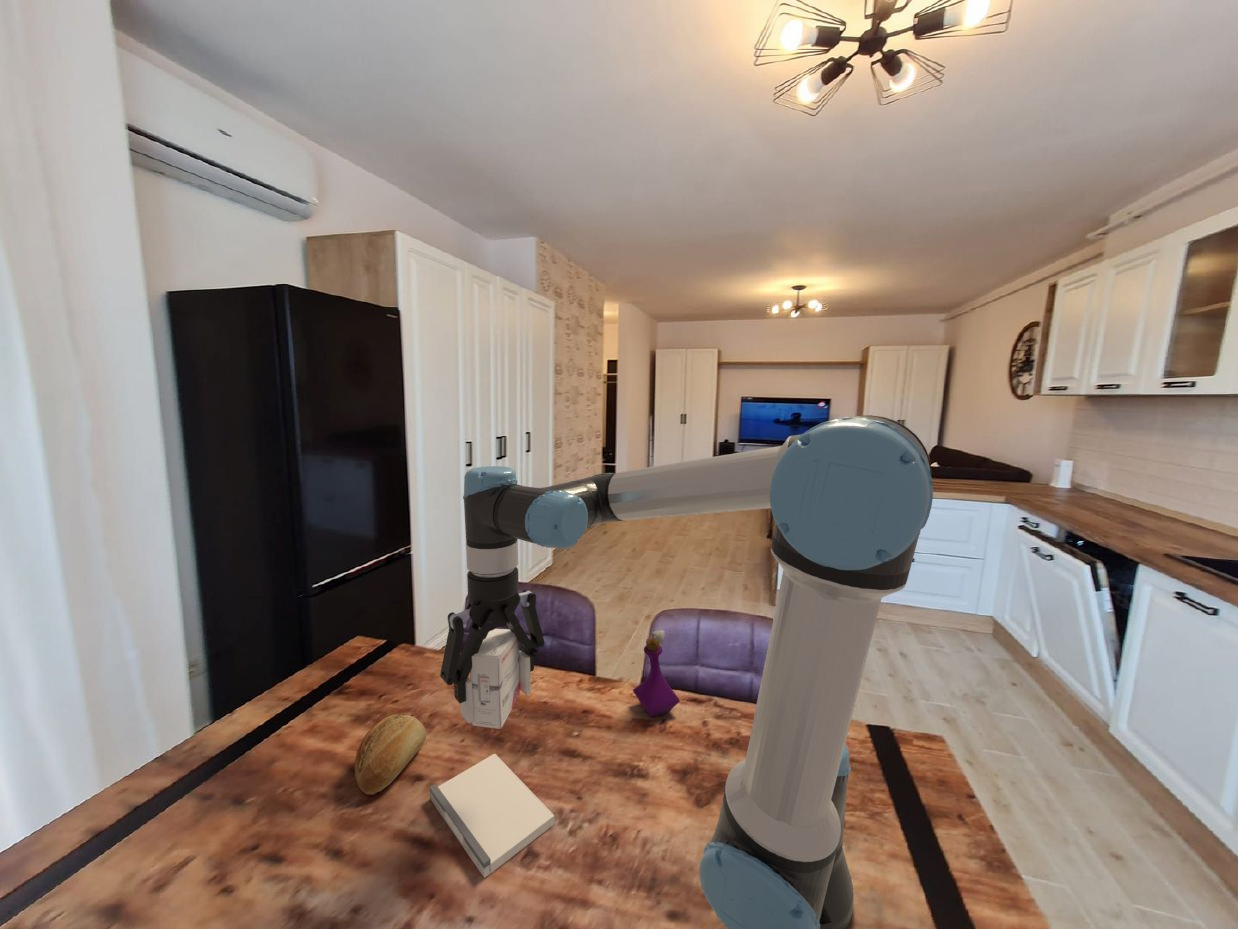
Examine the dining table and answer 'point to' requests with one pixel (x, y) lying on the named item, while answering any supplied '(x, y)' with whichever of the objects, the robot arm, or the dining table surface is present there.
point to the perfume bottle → (655, 681)
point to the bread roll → (387, 751)
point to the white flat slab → (491, 812)
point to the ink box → (495, 678)
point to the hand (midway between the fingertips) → (497, 703)
